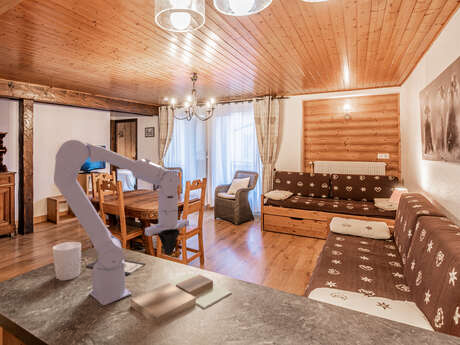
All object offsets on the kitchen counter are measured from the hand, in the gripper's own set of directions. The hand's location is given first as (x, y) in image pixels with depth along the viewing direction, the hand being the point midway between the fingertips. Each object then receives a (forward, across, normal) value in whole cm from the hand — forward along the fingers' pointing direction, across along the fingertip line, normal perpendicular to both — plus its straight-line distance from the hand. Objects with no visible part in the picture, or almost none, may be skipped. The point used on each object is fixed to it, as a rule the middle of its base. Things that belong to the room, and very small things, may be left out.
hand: (168, 253), depth 84 cm
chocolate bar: (+10, -5, +24) cm, 27 cm away
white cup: (+10, -19, +28) cm, 35 cm away
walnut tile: (+9, +3, -9) cm, 13 cm away
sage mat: (+9, +4, -9) cm, 13 cm away
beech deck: (+9, -8, -9) cm, 15 cm away
